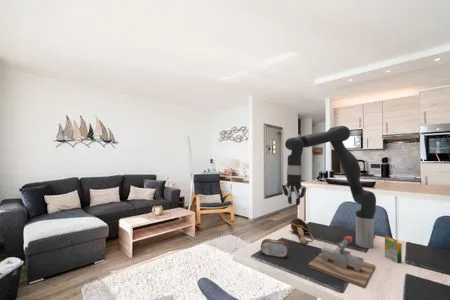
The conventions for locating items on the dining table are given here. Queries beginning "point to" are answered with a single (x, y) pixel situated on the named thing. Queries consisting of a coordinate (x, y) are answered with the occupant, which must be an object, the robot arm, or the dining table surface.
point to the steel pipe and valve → (342, 258)
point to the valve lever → (344, 243)
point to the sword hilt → (301, 229)
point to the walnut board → (343, 271)
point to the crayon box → (393, 249)
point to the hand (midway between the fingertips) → (293, 204)
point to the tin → (275, 248)
